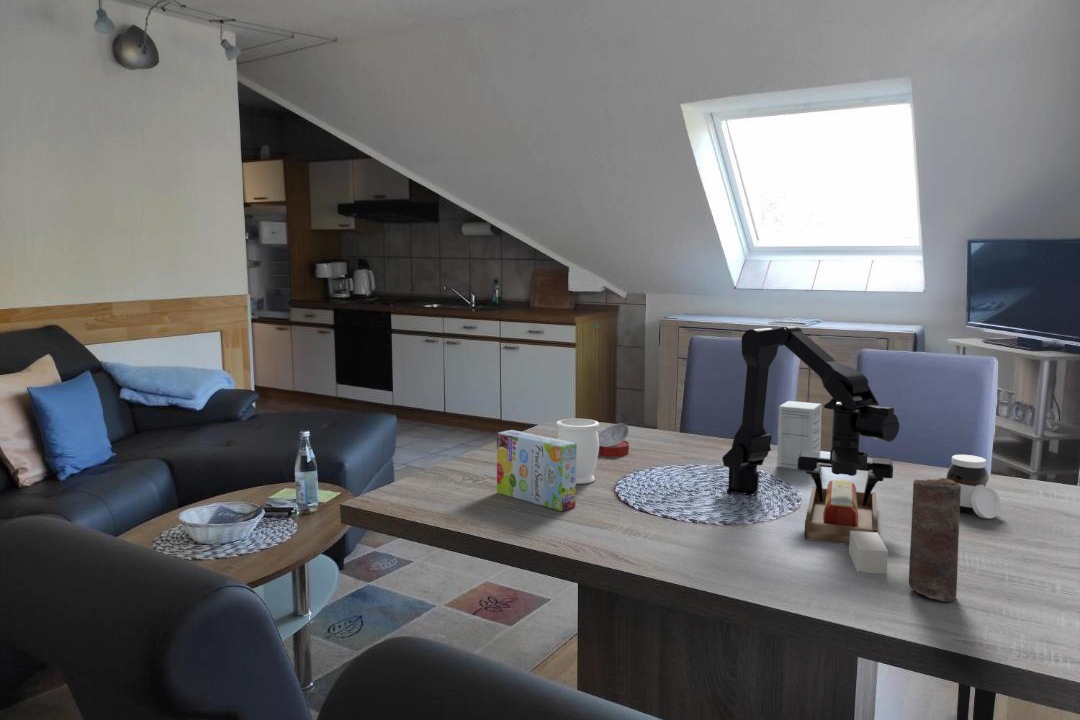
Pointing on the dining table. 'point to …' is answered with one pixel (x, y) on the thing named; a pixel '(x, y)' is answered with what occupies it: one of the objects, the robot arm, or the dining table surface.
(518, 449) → the snack box
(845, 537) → the tray
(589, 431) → the jar
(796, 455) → the supplement box
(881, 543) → the small white box
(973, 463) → the spread jar
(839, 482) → the snack package
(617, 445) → the canned food
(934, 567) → the weathered brick
